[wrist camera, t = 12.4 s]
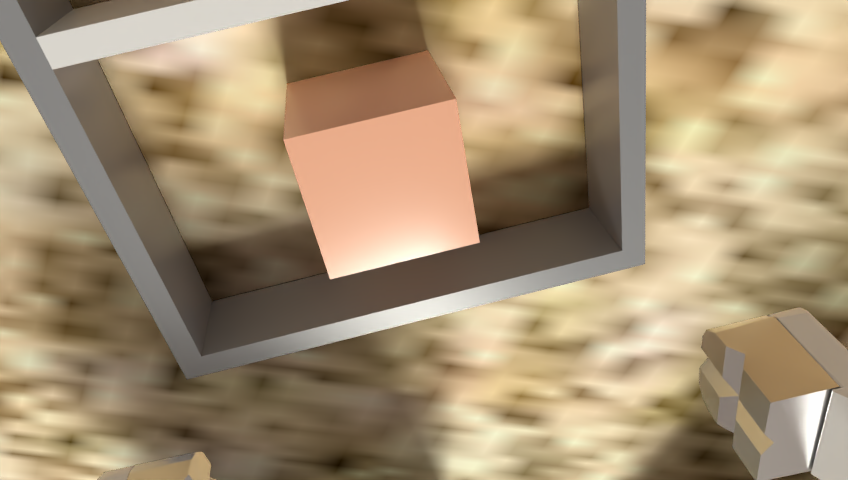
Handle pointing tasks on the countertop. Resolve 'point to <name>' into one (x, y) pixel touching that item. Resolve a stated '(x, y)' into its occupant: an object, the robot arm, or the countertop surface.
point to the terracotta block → (380, 163)
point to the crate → (319, 295)
